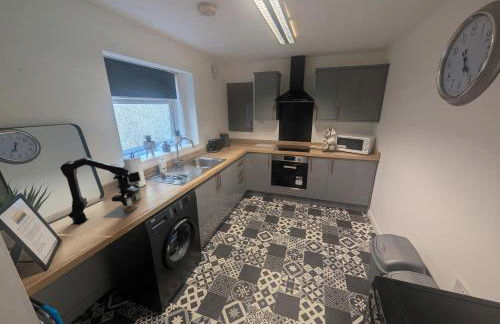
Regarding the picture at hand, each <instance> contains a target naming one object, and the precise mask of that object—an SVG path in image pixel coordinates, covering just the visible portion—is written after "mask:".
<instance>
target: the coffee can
mask: <svg viewBox="0 0 500 324" xmlns="http://www.w3.org/2000/svg"><path fill="white" fill-rule="evenodd" d="M139 182H140V181H137V182H130V181H129V180H128V183H129V184H131V186H135V185H139V190H138V193H136V194H135V195H133V198H132V203H133V202H137V201H140V200H141V199H142V192H141V187H140V183H139ZM125 197H127V196H126V195H125Z"/></svg>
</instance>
